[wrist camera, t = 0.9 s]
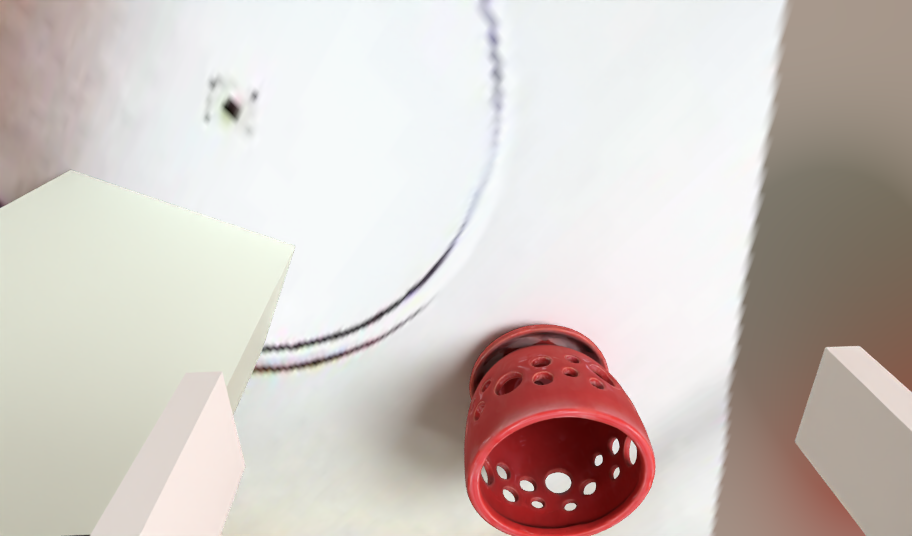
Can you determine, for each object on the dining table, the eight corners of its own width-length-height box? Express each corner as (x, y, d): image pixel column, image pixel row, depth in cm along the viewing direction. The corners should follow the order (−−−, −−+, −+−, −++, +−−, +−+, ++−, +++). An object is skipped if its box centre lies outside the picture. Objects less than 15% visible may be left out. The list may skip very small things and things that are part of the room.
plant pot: (441, 331, 48) (445, 432, 38) (600, 295, 48) (650, 388, 37) (476, 448, 54) (488, 564, 43) (618, 418, 53) (666, 529, 43)
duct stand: (54, 287, 45) (-540, 784, 17) (71, 169, 41) (-663, 568, 14) (262, 349, 48) (40, 851, 21) (295, 245, 45) (76, 692, 17)
